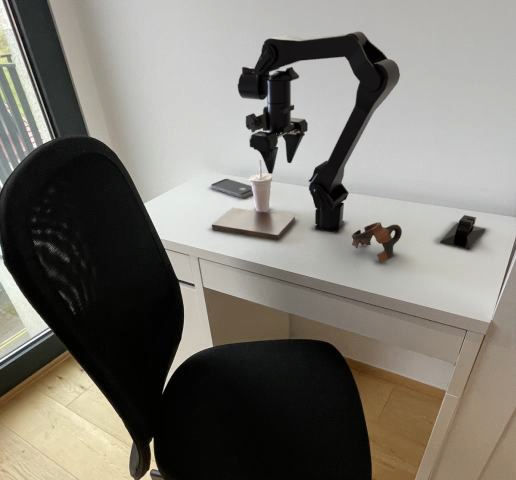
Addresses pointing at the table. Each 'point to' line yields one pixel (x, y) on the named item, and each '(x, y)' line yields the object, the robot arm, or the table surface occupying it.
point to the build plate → (463, 233)
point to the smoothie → (261, 190)
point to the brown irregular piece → (378, 238)
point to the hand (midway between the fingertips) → (280, 168)
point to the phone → (233, 188)
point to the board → (254, 223)
